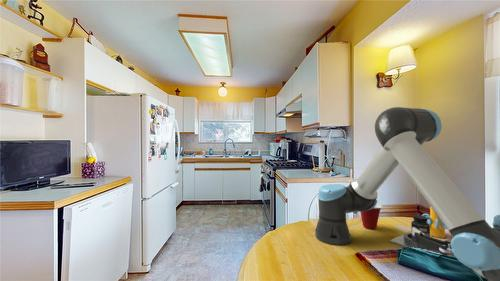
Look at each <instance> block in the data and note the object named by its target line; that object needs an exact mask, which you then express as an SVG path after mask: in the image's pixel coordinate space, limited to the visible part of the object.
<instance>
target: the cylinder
mask: <svg viewBox="0 0 500 281" xmlns="http://www.w3.org/2000/svg"><path fill="white" fill-rule="evenodd" d="M429 211H430V212H429V213H430V214H428V213H423V214H422V215H421V216H425V217H427V218H428V221H427V223H428V224H429V225H430V237H433V238H434V237H435V238H437V239H443V238H446V230H448V229H447V228H446V226H445V225H444V224H443V222H442V221H441V220H440V218H439V217H438V216H437V214H436V213H435V211H434V210H433V209H432V207H431V206H430V205H429Z"/></svg>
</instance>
